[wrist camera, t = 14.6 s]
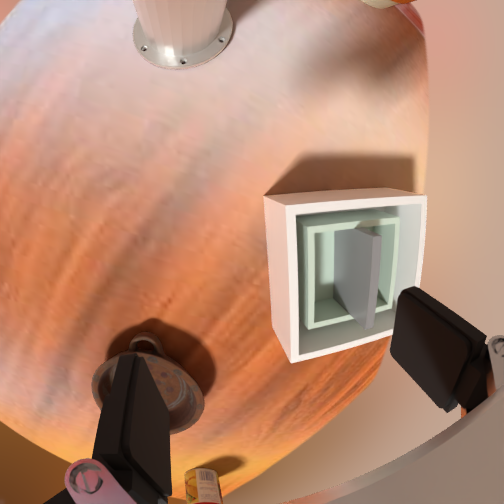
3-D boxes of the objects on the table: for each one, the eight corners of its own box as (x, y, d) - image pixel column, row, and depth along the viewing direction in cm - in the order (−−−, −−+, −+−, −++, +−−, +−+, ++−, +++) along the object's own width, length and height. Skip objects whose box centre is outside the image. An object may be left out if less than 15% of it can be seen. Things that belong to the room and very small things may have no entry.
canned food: (182, 480, 51) (186, 520, 40) (186, 466, 49) (190, 510, 38) (214, 482, 53) (221, 521, 42) (220, 468, 51) (228, 510, 40)
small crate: (289, 217, 37) (322, 235, 27) (374, 209, 39) (420, 223, 29) (292, 308, 41) (320, 347, 31) (370, 291, 43) (408, 321, 33)
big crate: (263, 195, 36) (285, 205, 28) (386, 187, 39) (427, 195, 31) (272, 326, 42) (290, 363, 33) (380, 302, 45) (412, 327, 37)
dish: (209, 331, 40) (212, 352, 36) (197, 426, 46) (199, 446, 41) (92, 316, 36) (82, 334, 32) (105, 415, 42) (101, 435, 37)
